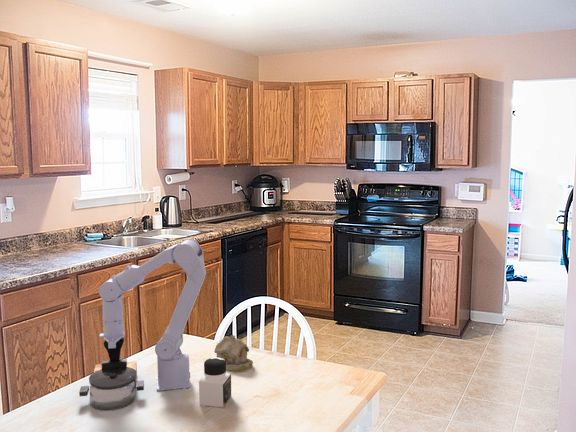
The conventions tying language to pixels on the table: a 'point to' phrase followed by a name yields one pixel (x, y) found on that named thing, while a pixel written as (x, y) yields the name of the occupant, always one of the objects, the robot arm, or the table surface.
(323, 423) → the table surface
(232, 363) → the ceramic model
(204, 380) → the medicine bottle
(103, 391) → the cooker
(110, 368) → the lid
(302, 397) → the table surface
